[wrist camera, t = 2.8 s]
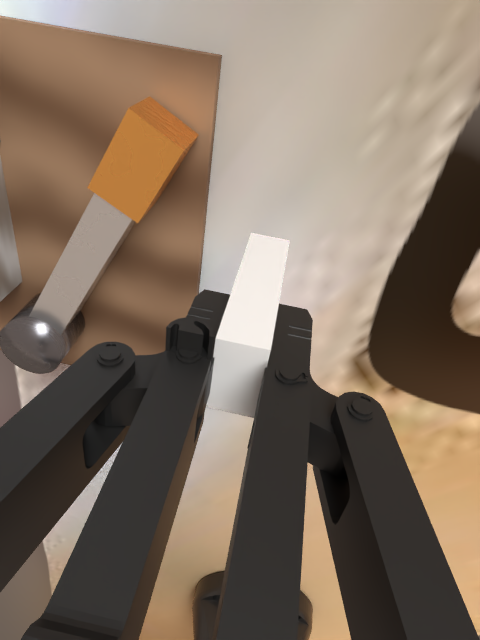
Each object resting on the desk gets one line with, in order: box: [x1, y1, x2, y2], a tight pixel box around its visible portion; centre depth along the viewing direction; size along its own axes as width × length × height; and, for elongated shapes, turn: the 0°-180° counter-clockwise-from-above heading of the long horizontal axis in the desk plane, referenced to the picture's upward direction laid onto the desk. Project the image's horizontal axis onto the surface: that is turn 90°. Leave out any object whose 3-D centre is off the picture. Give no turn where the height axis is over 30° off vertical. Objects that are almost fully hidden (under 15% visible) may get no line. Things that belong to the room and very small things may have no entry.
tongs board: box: [0, 16, 222, 365], centre depth 29 cm, size 24×18×4 cm
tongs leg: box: [0, 96, 199, 374], centre depth 29 cm, size 20×4×4 cm, turn 144°
